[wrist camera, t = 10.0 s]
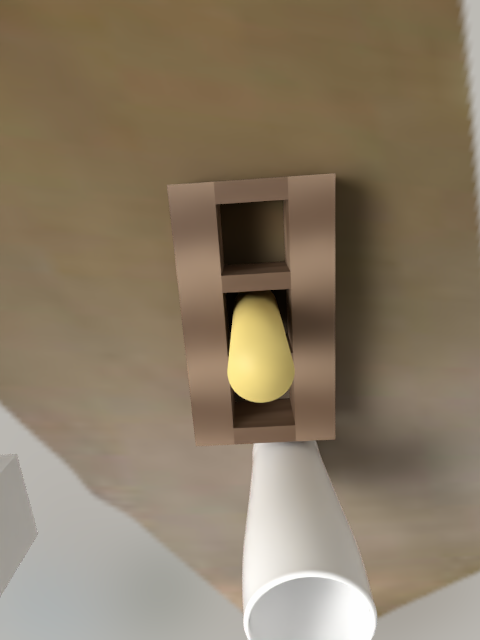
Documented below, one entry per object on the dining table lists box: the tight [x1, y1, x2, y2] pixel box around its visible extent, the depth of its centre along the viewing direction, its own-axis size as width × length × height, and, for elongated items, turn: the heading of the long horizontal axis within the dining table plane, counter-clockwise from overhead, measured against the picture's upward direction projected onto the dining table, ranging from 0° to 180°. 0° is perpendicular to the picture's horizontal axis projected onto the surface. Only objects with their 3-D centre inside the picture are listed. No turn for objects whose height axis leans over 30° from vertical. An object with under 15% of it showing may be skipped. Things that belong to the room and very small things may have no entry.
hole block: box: [167, 173, 335, 446], centre depth 30 cm, size 18×10×4 cm, turn 4°
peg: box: [227, 290, 295, 403], centre depth 26 cm, size 3×3×12 cm
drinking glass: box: [242, 440, 377, 640], centre depth 28 cm, size 7×7×15 cm
